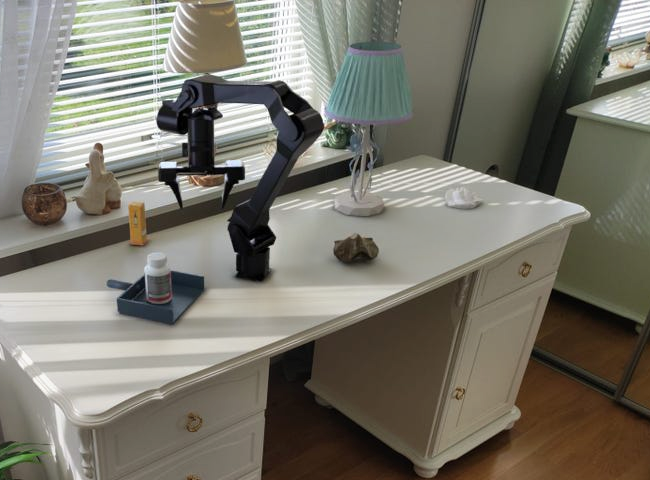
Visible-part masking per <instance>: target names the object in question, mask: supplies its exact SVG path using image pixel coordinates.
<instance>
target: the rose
mask: <svg viewBox="0 0 650 480" xmlns="http://www.w3.org/2000/svg"><path fill="white" fill-rule="evenodd" d="M444 198H445V201H446V203H447V206H448V207H450V208H455V209H463V210H468V209H474V208H475V207H477V206H479V205H480V204H481V203H482V202H483V201H484V200H483V198H479V197H477V193H476V191H475V190H474V189H472V188H471V187H470V186H462V187H459V186H457V187H456V188H452V187H451V188H449V189H448V190H447V191H446V192H445V195H444Z"/></svg>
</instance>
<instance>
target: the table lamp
mask: <svg viewBox="0 0 650 480" xmlns="http://www.w3.org/2000/svg"><path fill="white" fill-rule="evenodd" d="M403 48H404V47H403V46H402V45H401V44H399V43H395V42H387V41H386V42H385V41H364V42H363V41H361V42H356V43H352V44H350V45H349V46H348V48H347V52H346V54H345V56H344V59H343V63H342V65H341V67H340V70H339V71H338V74H337V76H336V78H335V81H334V84H333V87H332V89H331V92H330V94H329V98H328V100H327V105H326V106H325V108H324V114H325V116H326V117H327V118H329V119H331V120H333V121H338V122H342V123H347V124H356V125H360V126H359V127H358V132H355V133H353V134H352V135H351V136H350V140H349V141H350V142H349V143H350V145H349V152H350V153H354V157H353V159H351V161H350V163H349V170H350V172H351V177H350V186H349V187H350V191H347V192H343V193H339V194H338V195H336V196H335V198H334V210H336V211H338V212H340V213H343V214H345V215H347V216H356V217H357V216H358V217H370V216H374V215H377V214H378V215H379V214H380V213H381V212H382V211H383V210H384V206H385V203H384V199H383V197H382V196H380V195H378V194H376V193H373V192H367V190H370V189H371V187H372V182H373V179H372V177H373V172H374V171H373V170H374V164H375V163H376V162H377V160H378V158H379V154H380V148H379V146H377V143H376V142H373V141H372V138H371V137H370V135H371V134H370V133H371V132H370V130H371V129H370V127H371V126H372V125H373V129H375V128H376V125H377V126H378V125H390V124H391V125H393V124H397V123H398V124H399V123H403V122H406V121H408V120H411V119H412V118H413V117H414V113H415V112H414V109H413V103H412V91H411V88H410V83H409V77H408V74H407V69H406V67H405V59H404V53H403V51H404V50H403ZM362 129H363V132H362V133H361V131H362ZM372 147H373V148H374V149H377V154H376V156H375V159H374V154H373V151H372ZM367 153H368V154H369V158H370V161H369V162H368V163H366V162H367ZM360 157H361V162H360V169H357V171H356V168H357V165H358V163H359V159H360ZM354 161H355V162H354ZM353 163H354V164H353ZM352 164H353V167H352V166H351V165H352ZM366 164H367V168H368V173H369V174H368V178H367V179H368V180H367V183H366V185H365V187H364V180H365V174H366V173H365V172H366ZM358 178H359V180H358V188H357V189H358V190H357V191H355V189H356V184H357V179H358Z"/></svg>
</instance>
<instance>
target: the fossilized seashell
mask: <svg viewBox="0 0 650 480" xmlns="http://www.w3.org/2000/svg"><path fill="white" fill-rule="evenodd" d="M332 250H333V251H332V252H333V256H334V257H335V258H336V259H337V260H338V261H339V262H342V263H348V262H352V261H355V259H357V258H358V259H359V258H360V259H362V260H365V261H373V260H375V259H376V258H377V257H378V255H379V254H380V253H379V251H380V249H379V247H378V245H377V244H376V243H375V241H374V238H373V237H362V236H361V234H359V233H358V232H352V233H351V234H350V235H348V236H347V237H346V238H344V239H338V240H334V246H333V249H332Z"/></svg>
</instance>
